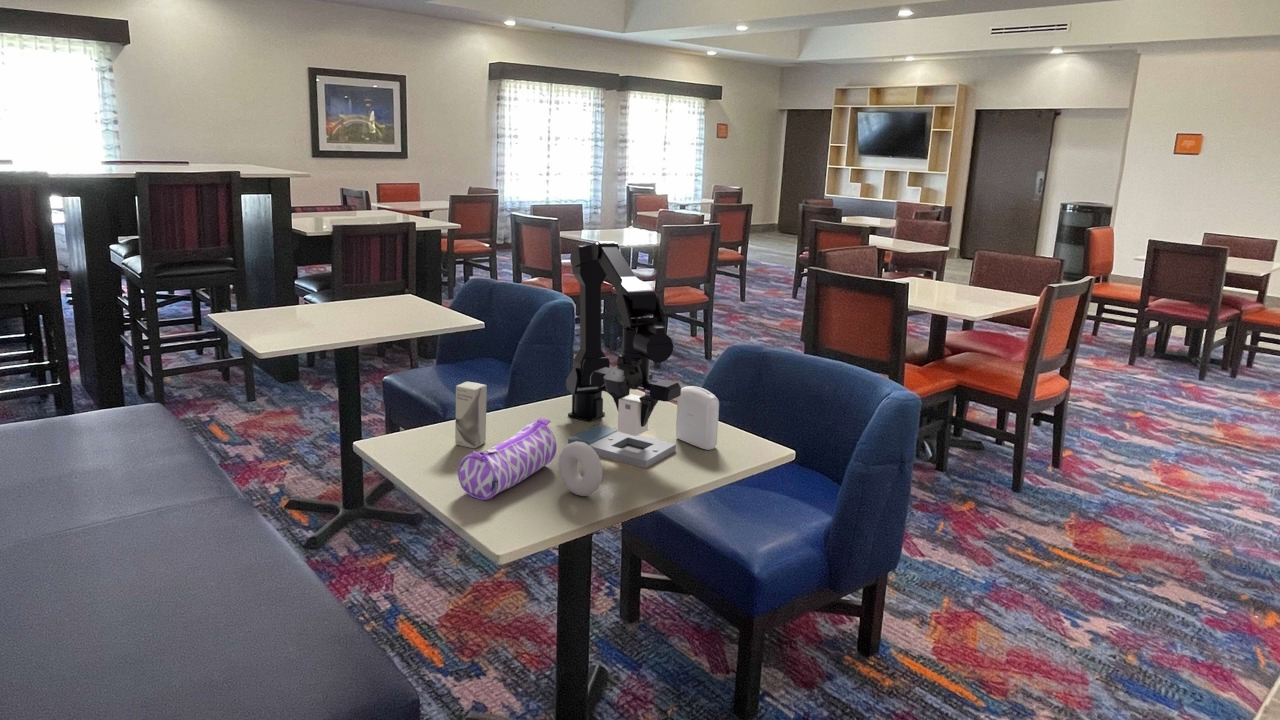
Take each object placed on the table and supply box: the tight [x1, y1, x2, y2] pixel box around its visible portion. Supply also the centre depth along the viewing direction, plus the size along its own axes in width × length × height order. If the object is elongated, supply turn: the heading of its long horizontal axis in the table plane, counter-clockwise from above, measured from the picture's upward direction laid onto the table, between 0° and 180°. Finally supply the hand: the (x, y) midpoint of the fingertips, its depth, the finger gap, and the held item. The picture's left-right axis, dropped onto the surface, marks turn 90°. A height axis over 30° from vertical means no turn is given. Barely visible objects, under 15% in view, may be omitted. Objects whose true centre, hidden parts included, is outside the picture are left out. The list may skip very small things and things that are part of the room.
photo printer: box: [675, 385, 720, 451], centre depth 177 cm, size 10×4×12 cm, turn 39°
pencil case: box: [457, 417, 558, 501], centre depth 154 cm, size 22×9×10 cm, turn 155°
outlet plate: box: [589, 432, 677, 469], centre depth 172 cm, size 14×12×2 cm
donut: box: [558, 441, 603, 497], centre depth 149 cm, size 10×4×10 cm, turn 47°
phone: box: [567, 424, 618, 445], centre depth 179 cm, size 6×11×1 cm, turn 148°
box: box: [454, 381, 488, 449], centre depth 171 cm, size 5×4×13 cm
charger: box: [617, 393, 649, 436], centre depth 170 cm, size 4×4×7 cm
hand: (633, 423), depth 170 cm, fingers closed on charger, 4 cm apart
